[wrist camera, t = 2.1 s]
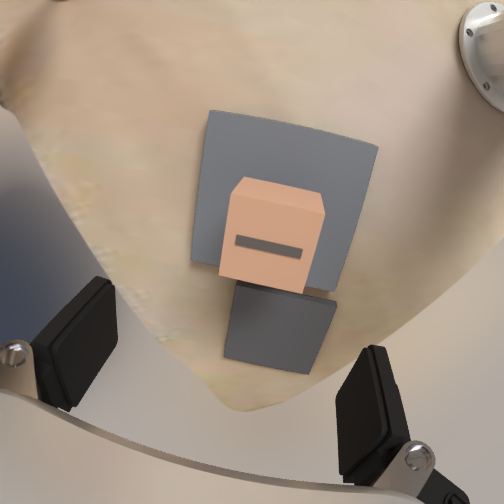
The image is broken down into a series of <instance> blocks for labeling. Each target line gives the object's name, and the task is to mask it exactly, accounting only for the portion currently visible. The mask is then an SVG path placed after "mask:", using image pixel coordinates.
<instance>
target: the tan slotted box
mask: <svg viewBox="0 0 504 504" xmlns="http://www.w3.org/2000/svg"><path fill="white" fill-rule="evenodd" d="M324 217H325V210H324V206H323V202H322V197H321V193H317V192H313V191H309V190H304V189H300V188H296V187H291V186H287V185H282V184H277V183H273V182H268V181H263V180H258V179H254V178H249V177H243V179H242V180H241V181H240V182H239V184H238V185H237V186H236V187H235V189H234V190H233V191H232V193H231V196H230V202H229V208H228V215H227V221H226V228H225V234H224V241H223V248H222V255H221V261H220V268H219V275H220V276H224V277H229V278H233V279H238V280H242V281H246V282H251V283H255V284H260V285H264V286H269V287H273V288H278V289H282V290H287V291H291V292H296V293H301V294H302V293H303V290H304V287H305V283H306V280H307V277H308V273H309V270H310V267H311V263H312V260H313V256H314V253H315V249H316V246H317V242H318V239H319V235H320V232H321V228H322V224H323V221H324Z"/></svg>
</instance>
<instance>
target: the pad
mask: <svg viewBox="0 0 504 504" xmlns="http://www.w3.org/2000/svg"><path fill="white" fill-rule="evenodd" d="M336 308H337V303H336V301H331V300H326V299H321V298H317V297H312V296H307V295H302V294H298V293H293V292H288V291H284V290H279V289H275V288H270V287H266V286H261V285H257V284H252V283H248V282H243V281H239V280H238V281H237V284H236V288H235V294H234V300H233V305H232V311H231V317H230V322H229V328H228V334H227V340H226V345H225V351H224V357H225V358H230V359H234V360H238V361H243V362H247V363H252V364H256V365H261V366H266V367H271V368H275V369H281V370H286V371H291V372H296V373H302V374H308V375H309V373H310V371H311V368H312V366H313V364H314V362H315V359H316V357H317V355H318V352H319V350H320V348H321V345H322V343H323V340H324V338H325V336H326V333H327V331H328V328H329V326H330V323H331V321H332V318H333V316H334V313H335V311H336Z"/></svg>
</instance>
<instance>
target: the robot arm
mask: <svg viewBox="0 0 504 504" xmlns="http://www.w3.org/2000/svg"><path fill="white" fill-rule="evenodd" d="M459 46H460V51H461V56H462V59H463V62H464V65H465V68H466V70H467V72H468V75H469V77H470V79H471V80H472V82H473V84H474V85H475V87H476V89H477V90H478V91H479V92H480V94H481V95H482V96H483V97H484V98H485V99H486V100H487V101H488V102H489V103H490V104H491V105H492V106H493V107H495V108H496V109H498V110H499V111H501V112H503V113H504V5H502V4H500V3H497V2H490V1H487V2H481V3H478V4H476V5H474V6H472V7H471V8H469V9H468V10H467V11H466V13H465V14H464V15H463V18H462V20H461V23H460V28H459ZM483 86H484V87H483ZM117 341H118V333H117V318H116V300H115V286H114V285H112V282H111V281H110V280H108V279H105V278H102V277H99V276H96V277H95V278H93V279H92V280H91V281H90V282H89V283H88V284H87V285H86V286H85V287H84V288H83V289H82V290H81V291H80V292H79V293H78V294H77V295H76V296H75V297H74V298H73V299H72V300H71V301H70V302H69V303H68V304H67V305H66V306H65V307H64V308H63V309H62V310H61V311H60V312H59V313H58V314H57V315H56V316H55V317H54V318H53V319H52V320H51V321H50V322H49V323H48V325H47V326H46V327H45V328H44V329H43V330H42V331H41V332H40V333H39V334H38V335H37V337H36V338H35V339H34V340H33V341H32V342H31V343H30V344H28V343H27V342H25V341H22V340H10V341H8V342H6V343H4V344H3V345H2V346H0V504H470V502H469V499H468V496H467V495H466V494H465V493H464V491H462V490H461V489H460V488H458V487H457V486H456V485H454V484H453V483H452V482H451V481H449V480H448V479H447V478H446V477H444V476H443V475H442V474H440V473H439V472H438V471H436V470H435V469H434V466H435V455H434V453H433V451H432V450H431V448H430V447H429V446H428V445H427V444H425V443H423V442H421V441H411V439H410V434H409V430H408V425H407V421H406V417H405V413H404V409H403V405H402V401H401V397H400V393H399V389H398V386H397V385H396V384H395V380H394V376H393V372H392V369H391V365H390V362H389V358H388V354H387V351H386V348H385V347H382V346H376V345H369V346H368V348H363V350H362V352H361V353H360V355H359V357H358V359H357V361H356V362H355V364H354V366H353V368H352V369H351V371H350V373H349V375H348V376H347V378H346V380H345V381H344V383H343V385H342V386H341V388H340V390H339V391H338V393H337V395H336V401H335V403H336V418H337V435H338V458H339V474H340V475H343V483H354V485H338V484H325V483H314V482H304V481H295V480H287V479H280V478H273V477H266V476H259V475H255V474H249V473H244V472H239V471H234V470H229V469H225V468H220V467H216V466H212V465H208V464H204V463H200V462H196V461H192V460H189V459H185V458H181V457H178V456H175V455H172V454H168V453H165V452H162V451H159V450H156V449H153V448H150V447H147V446H144V445H141V444H138V443H136V442H133V441H130V440H128V439H125V438H122V437H120V436H117V435H115V434H112V433H110V432H107V431H105V430H103V429H100V428H98V427H96V426H93V425H91V424H89V423H86V422H84V421H82V420H80V419H78V418H75V417H73V416H71V415H69V414H67V413H65V412H63V411H61V410H59V409H58V407H59V408H61V409H63V410H65V411H67V412H70V410H71V408H72V407H76V406H77V405H78V404H79V402H80V401H81V399H82V398H83V396H84V394H85V393H86V391H87V389H88V388H89V386H90V385H91V383H92V382H93V380H94V379H95V377H96V376H97V374H98V372H99V371H100V369H101V368H102V366H103V365H104V363H105V362H106V360H107V359H108V357H109V356H110V354H111V353H112V351H113V349H114V348H115V347H116V344H117Z"/></svg>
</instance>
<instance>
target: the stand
mask: <svg viewBox="0 0 504 504" xmlns="http://www.w3.org/2000/svg"><path fill="white" fill-rule="evenodd" d="M377 151H378V146H376V145H373V144H370V143H366V142H363V141H359V140H356V139H352V138H349V137H345V136H341V135H337V134H333V133H329V132H325V131H321V130H317V129H313V128H308V127H304V126H300V125H295V124H290V123H286V122H281V121H276V120H270V119H265V118H260V117H254V116H248V115H242V114H236V113H229V112H223V111H216V110H210V111H209V117H208V124H207V130H206V137H205V144H204V151H203V158H202V165H201V173H200V180H199V188H198V196H197V205H196V213H195V222H194V232H193V241H192V252H191V260H192V261H196V262H200V263H205V264H209V265H213V266H218V267H220V261H221V255H222V248H223V241H224V234H225V228H226V221H227V215H228V208H229V202H230V196H231V193H232V191H233V190H234V189H235V187H236V186H237V185H238V184H239V182H240V181H241V180H242V179H243V177H249V178H254V179H258V180H263V181H268V182H273V183H277V184H282V185H287V186H291V187H296V188H300V189H304V190H309V191H313V192H317V193H321V197H322V202H323V206H324V210H325V217H324V221H323V224H322V228H321V232H320V235H319V239H318V242H317V246H316V249H315V253H314V256H313V260H312V263H311V267H310V270H309V273H308V277H307V280H306V283H305V286H308V287H312V288H317V289H322V290H327V291H331V292H334V291H335V288H336V286H337V283H338V280H339V277H340V274H341V271H342V268H343V265H344V262H345V260H346V257H347V254H348V250H349V247H350V244H351V241H352V238H353V235H354V232H355V229H356V225H357V222H358V219H359V216H360V212H361V209H362V205H363V202H364V199H365V195H366V192H367V188H368V185H369V181H370V177H371V174H372V170H373V166H374V162H375V158H376V155H377Z"/></svg>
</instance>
